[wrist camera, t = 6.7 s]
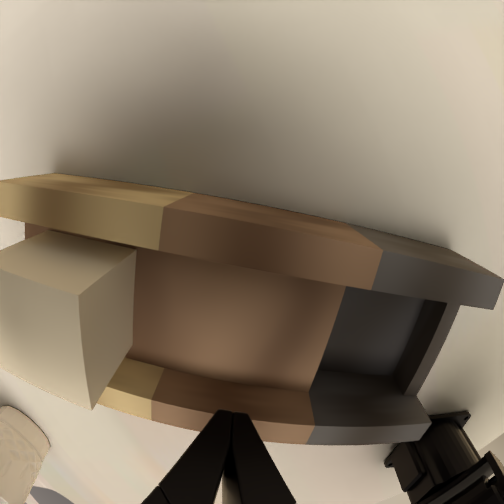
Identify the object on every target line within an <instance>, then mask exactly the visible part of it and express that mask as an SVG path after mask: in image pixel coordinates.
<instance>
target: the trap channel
mask: <svg viewBox="0 0 504 504" xmlns="http://www.w3.org/2000/svg"><path fill="white" fill-rule="evenodd" d="M0 217H4V218H8V219H12V220H17V221H21V222H25V240H26V239H28V238H31V237H33V236H36V235H38V234H40V233H43V232H45V231H48V230H50V231H55V232H59V233H63V234H68V235H72V236H77V237H81V238H86V239H90V240H95V241H99V242H104V243H108V244H113V245H117V246H122V247H127V248H131V249H136V250H137V253H136V266H135V281H134V302H133V345H132V346H131V348H130V349H129V351H128V353H127V354H126V356H125V357H124V359H123V361H122V362H121V364H120V365H119V367H118V369H117V370H116V372H115V373H114V375H113V377H112V378H111V380H110V381H109V383H108V385H107V386H106V388H105V390H104V391H103V393H102V395H101V396H100V398H99V400H98V401H97V403H98V404H100V405H103V406H106V407H109V408H112V409H115V410H118V411H121V412H124V413H128V414H131V415H134V416H138V417H141V418H145V419H148V420H152V421H156V422H160V423H164V424H168V425H172V426H176V427H180V428H185V429H190V430H194V431H199V432H201V431H202V429H203V428H204V427H205V425H206V424H207V423H208V422H209V420H210V419H211V418H212V416H213V415H214V414H215V412H216V411H217V410H218V409H226V410H231V411H232V412H234V411H238V412H245V413H248V414H249V416H250V418H251V420H252V422H253V424H254V426H255V428H256V430H257V432H258V434H259V436H260V438H261V440H262V441H266V442H277V443H290V444H308V445H369V444H386V443H398V442H409V441H417V440H420V438H421V437H422V436H423V434H424V433H425V432H426V430H427V429H428V427H429V426H430V425H431V423H432V422H431V420H430V419H429V417H428V415H427V413H426V412H425V410H424V408H423V406H422V405H421V403H420V401H419V400H418V398H417V396H416V395H417V393H418V392H419V390H420V388H421V386H422V385H423V383H424V381H425V379H426V377H427V375H428V374H429V372H430V370H431V368H432V366H433V364H434V362H435V360H436V358H437V356H438V354H439V352H440V350H441V348H442V346H443V344H444V342H445V340H446V337H447V335H448V333H449V331H450V329H451V326H452V324H453V322H454V319H455V317H456V315H457V312H458V310H459V307H460V305H464V306H471V307H477V308H484V309H490V310H493V309H494V307H495V304H496V302H497V299H498V296H499V294H500V291H501V288H502V285H503V283H504V279H502V278H501V277H499V276H497V275H496V274H494V273H492V272H490V271H489V270H487V269H485V268H483V267H482V266H480V265H478V264H476V263H474V262H473V261H471V260H469V259H467V258H465V257H463V256H461V255H460V254H458V253H456V252H454V251H452V250H449V249H446V248H442V247H439V246H435V245H431V244H428V243H424V242H420V241H416V240H412V239H409V238H405V237H401V236H397V235H393V234H389V233H385V232H381V231H377V230H373V229H368V228H364V227H360V226H356V225H351V224H347V223H343V222H338V221H334V220H330V219H325V218H321V217H316V216H311V215H307V214H302V213H297V212H293V211H288V210H283V209H278V208H273V207H268V206H263V205H258V204H253V203H247V202H242V201H237V200H231V199H226V198H220V197H215V196H209V195H203V194H198V193H192V192H186V191H180V190H174V189H167V188H161V187H155V186H148V185H141V184H134V183H128V182H120V181H113V180H106V179H98V178H90V177H82V176H74V175H65V174H56V173H52V174H44V175H36V176H28V177H21V178H14V179H7V180H1V181H0Z"/></svg>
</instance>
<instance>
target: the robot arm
mask: <svg viewBox="0 0 504 504" xmlns="http://www.w3.org/2000/svg"><path fill="white" fill-rule="evenodd" d="M470 416H471V415H470V413H469V412H468V411H467V412H459V413H452V414H443V415H433V416H428V417H429V419H430V420H431V422H432V423H431V425H430V426H429V427H428V429H427V430H426V432H425V433H424V434H423V436H422V437H421V438H420V440H417V441H409V442H400V443H399V444H398V446H397V447H396V448H395V449H394V451H393V452H392V453H391V455H390V456H389V457H388V459H387V460H386V461H385V462H384V464H385V467H386V468H390V467H394V469H395V471H396V474H397V477H398V479H399V482H400V485H401V488H402V490H403V491H404V492H407V494H408V496H409V499H410V502H411V504H504V466H503V465H502V463H501V462H500V460H499V459H498V458H497V457H496V456H495V455H494V454H493V453H492V452H491V451H488V452H487V453H486V454H485V456H484V457H483V458H482V459H481V457H480V456H479V454H478V452H477V451H476V449H475V447H474V446H473V444H472V442H471V441H470V439H469V438H468V436H467V434H466V433H465V431H464V430H463V426H464V425H465V424H466V422H467V421H468V420H469V418H470ZM493 473H494V474H495V476H493V477H492V478H491V479H490V480H489V479H488V477H489V476H490V475H492V474H493ZM222 474H223V475H222ZM221 478H222V504H295V503H296V501H295V499H294V497H293V495H292V494H291V492H290V490H289V489H288V487H287V485H286V483H285V482H284V480H283V478H282V476H281V475H280V473H279V471H278V469H277V467H276V466H275V464H274V462H273V460H272V458H271V456H270V455H269V453H268V451H267V449H266V447H265V445H264V443H263V441H262V440H261V438H260V436H259V434H258V432H257V430H256V428H255V426H254V424H253V422H252V420H251V418H250V416H249V414H248V413H245V412H238V411H234V412H232V411H231V410H226V409H218V410H217V411H216V412H215V414H214V415H213V416H212V418H211V419H210V420H209V422H208V423H207V424H206V425H205V427H204V428H203V429H202V431H201V432H200V433H199V435H198V436H197V437H196V438H195V440H194V441H193V442H192V444H191V445H190V446H189V447H188V449H187V450H186V451H185V452H184V454H183V455H182V456H181V457H180V459H179V460H178V461H177V462H176V464H175V465H174V466H173V467H172V469H171V470H170V471H169V472H168V473H167V475H166V476H165V477H164V478H163V479H162V481H161V482H160V483H159V486H156V487H155V489H154V490H153V491H152V492H151V493H150V494H149V496H148V497H147V498H146V499H145V500H144V501H143V502H142V503H141V504H214V502H215V498H216V495H217V492H218V488H219V485H220V482H221Z"/></svg>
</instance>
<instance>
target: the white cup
mask: <svg viewBox="0 0 504 504" xmlns="http://www.w3.org/2000/svg"><path fill="white" fill-rule="evenodd" d="M49 449H50V445H49V442H48V439H47V437H46V436H45V435H44V433H43V432H42V431H41V429H40V428H39V427H38V426H37V425H36V424H35V423H34V422H33V421H32V420H31V419H29V418H28V417H27V416H25V415H24V414H23V413H21V412H20V411H19V410H17V409H15V408H13V407H10V406H2V407H1V408H0V504H24V503H25V501H26V499H27V497H28V495H29V493H30V490H31V488H32V486H33V484H34V482H35V480H36V478H37V475H38V473H39V470H40V469H41V465H42V462H43V460H44V458H45V456H46V454H47V452H48V450H49Z"/></svg>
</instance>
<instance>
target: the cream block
mask: <svg viewBox="0 0 504 504" xmlns="http://www.w3.org/2000/svg"><path fill="white" fill-rule="evenodd" d="M136 253H137V250H136V249H131V248H127V247H122V246H117V245H113V244H108V243H104V242H99V241H95V240H90V239H86V238H81V237H77V236H72V235H68V234H63V233H59V232H55V231H50V230H48V231H45V232H43V233H40V234H38V235H36V236H33V237H31V238H28V239H26V240H23V241H21V242H19V243H16V244H14V245H12V246H9V247H7V248H5V249H2V250H0V368H2V369H4V370H6V371H7V372H9V373H11V374H13V375H15V376H16V377H18V378H20V379H22V380H24V381H26V382H28V383H30V384H32V385H34V386H36V387H38V388H40V389H42V390H44V391H46V392H49V393H51V394H53V395H55V396H57V397H60V398H62V399H64V400H67V401H69V402H71V403H74V404H76V405H79V406H81V407H84V408H86V409H89V410H93V408H94V406H95V405H96V403H97V401H98V400H99V398H100V396H101V395H102V393H103V391H104V390H105V388H106V386H107V385H108V383H109V381H110V380H111V378H112V377H113V375H114V373H115V372H116V370H117V369H118V367H119V365H120V364H121V362H122V361H123V359H124V357H125V356H126V354H127V353H128V351H129V349H130V348H131V346H132V345H133V302H134V281H135V266H136Z"/></svg>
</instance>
